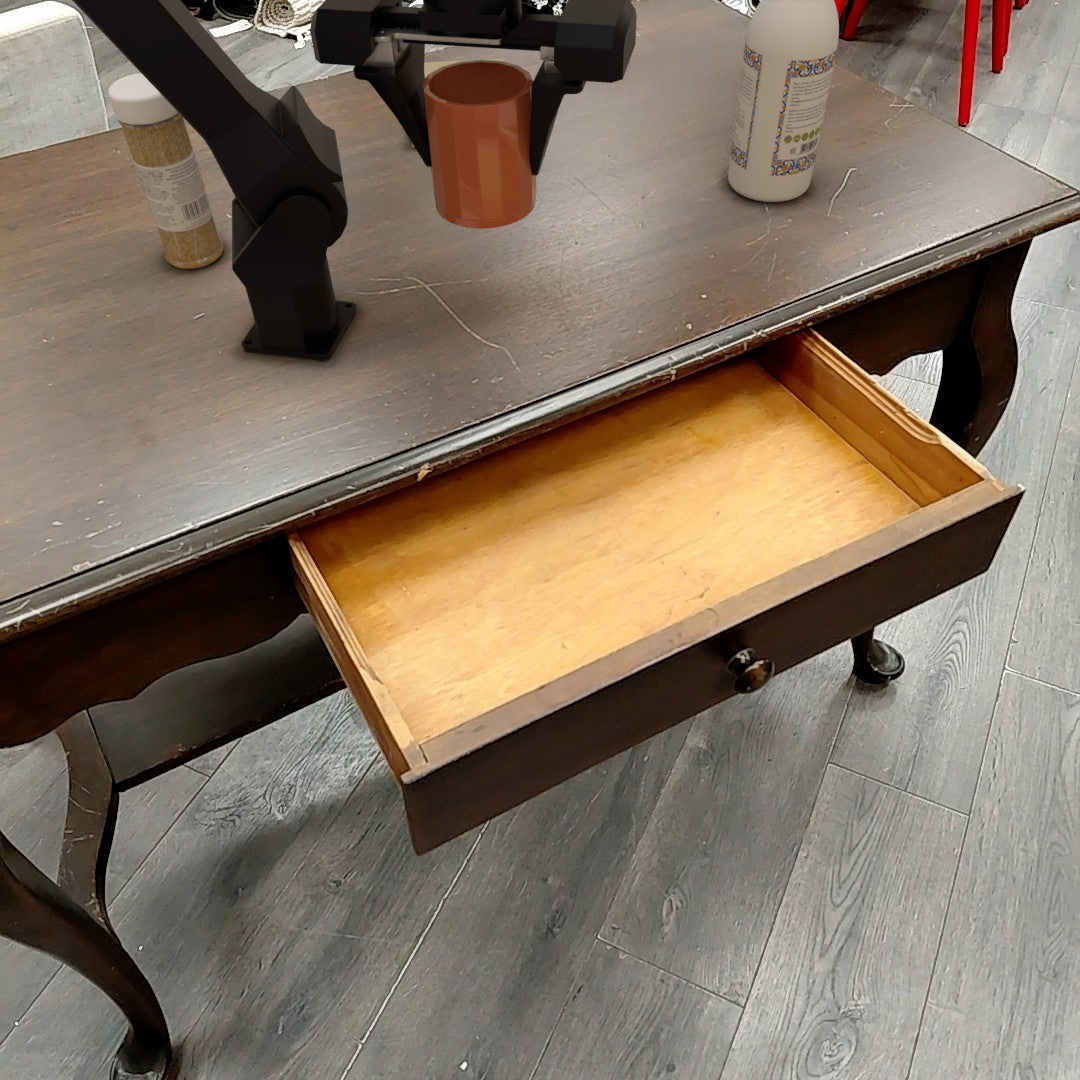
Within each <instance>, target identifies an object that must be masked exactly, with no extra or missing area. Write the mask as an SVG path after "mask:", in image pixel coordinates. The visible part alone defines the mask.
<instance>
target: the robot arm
mask: <svg viewBox="0 0 1080 1080" xmlns="http://www.w3.org/2000/svg"><path fill="white" fill-rule="evenodd" d="M71 1H72V2H73V3H74V4H75V5H76V6H77V7H78V8H79V9H80V10H81V11H82V13H83V14H84V15H85V16H87V18H88V19H89V20H90V21H91V22H92V23H93V24H94V25H95V26H96V27H97V28H98V30H99V31H101V32H102V33H103V35H104V36H105V37H106V38H107V39H108V40H109V41H110V42H111V43H112V44H113V45H114V46H115V47H116V48H117V49H118V51H119V52H121V54H122V55H123V56H124V57H125V58H126V59H127V60H128V61H129V63H131V64H132V66H134V67H135V68H136V69H137V71H138V72H139V73H142V75H143V76H144V77H145V78H146V79H147V80H148V81H149V82H150V83H151V84H152V85H153V86H154V87H155V88H156V89H157V90H158V91H159V92H160V94H161V95H162V96H163V97H164V98H165V99H166V100H167V101H168V102H169V103H170V104H171V105H172V106H173V107H174V108H175V109H176V110H177V111H178V113H179V114H180V115H181V116H182V117H183V120H184V121H186V122H187V123H188V125H190V127H191V128H193V130H194V131H195V132H196V133H197V134H198V135H199V136H200V138H202V139H203V141H204V143H206V145H207V146H208V148H209V149H210V152H211V153H212V156H213V158H214V159H215V161H216V163H217V164H218V167H219V168H220V171H221V172H222V174H223V176H224V178H225V180H226V183H228V185H229V188H230V189H231V191H232V193H233V195H234V198H233V199H232V200H231V270H232V271H233V273H234V274H235V275H236V277H237V278H238V280H239V281H240V282H241V284H242V285H243V286H244V288H245V292H246V295H247V299H248V301H249V305H250V310H251V312H252V317H253V320H254V323H253V325H252V326H251V327H250V330H249V331H248V332H247V334H246V335H245V337H244V338H243V340H242V341H241V346H242V350H243V351H244V352H247V353H256V354H264V355H273V356H282V357H291V358H298V359H299V358H300V359H308V360H317V361H326V360H328V359H330V358H331V356H332V354H333V353H334V352H335V349H336V348H337V346H338V344H339V342H340V340H341V339H342V337H343V335H344V333H346V330H347V328H348V326H349V324H351V321H352V319H353V318H354V315H356V312H357V306H356V303H354V302H353V301H345V300H337V299H336V294H335V290H334V285H333V281H332V275H331V271H330V266H329V261H328V255H327V253H328V252H327V251H328V248H330V247H332V246H333V245H334V244H335V243H337V241H338V240H339V239H340V238H341V237H342V235H343V233H344V232H345V230H346V227H347V225H348V218H349V217H348V216H349V207H348V201H347V195H346V190H345V189H346V188H345V183H344V177H343V176H344V175H343V171H342V164H341V158H340V153H339V147H338V141H337V134H336V131H335V130H334V129H333V128H332V127H330V126H328V125H327V124H324V123H323V122H322V121H321V119H319V118H318V117H317V116H316V115H315V114H314V112H313V111H312V109H311V108H310V107H309V105H308V103H307V101H306V100H305V97H304V96H303V95H302V93H301V92H300V90H299V89H298V87H297V86H296V85H291V86H290V87H289V88H288V90H286V92H285V93H284V94H283V95H282V96H281V97H280V99H279V98H277V97H275V95H272V94H270V93H269V92H267V91H265V90H264V89H262V88H261V87H259V86H257V85H256V84H255V83H254V82H252V81H251V80H250V79H249V78H248V77H247V76H246V75H245V74H244V73H243V72H242V70H241V69H240V68H239V67H238V65H236V64H235V62H234V61H233V60H232V59H231V57H229V55H228V54H227V53H226V52H225V51H224V50H223V48H222V47H221V46H220V45H219V44H218V42H217V41H216V40H215V38H213V36H212V35H211V34H210V33H209V32H208V31H207V30H206V28H205V27H204V26H203V25H202V24H201V23H200V22H199V20H197V18H196V17H195V16H194V14H193V13H192V12H191V11H190V10H189V9H188V7H187V6H186V5H185V4H184V3H183V2H182V0H71ZM422 2H423V3H422V5H421V6H420V7H417V6H403V0H324V1H323V2H322V4H320V5H319V7H317V8H316V10H315V11H314V13H313V14H312V15H311V19H310V20H311V21H310V28H309V32H310V38H311V43H312V48H313V54H314V59H315V60H316V61H317V62H318V63H319V64H322V65H336V66H337V65H338V66H352V67H353V68H352V71H353V75H354V78H355V79H356V80H359V81H367V82H368V83H369V84H370V85H371V87H372V88H373V89H374V90H375V92H376V93H377V94H378V96H379V97H380V98H381V101H383V102H384V103H385V105H386V106H387V107H388V109H389V111H391V113H392V114H393V115H394V116H395V118H396V120H397V121H398V123H399V125H400V126H401V128H402V129H403V131H404V132H405V134H406V136H407V137H408V139H409V140H410V142H412V143H411V145H412V144H413V145H414V147H415V148H414V149H415V151H416V152H417V154H418V155H419V157H420V158H421V160H422V161H423V163H424V165H425V166H426V167H429V168H431V163H430V154H429V145H428V136H427V127H426V118H425V109H424V100H423V91H422V83H423V81H424V80H425V74H424V62H425V55H426V54H425V53H426V45H433V46H434V45H435V46H448V47H449V46H451V47H464V48H480V49H481V48H482V49H498V50H513V51H514V50H515V51H529V52H530V51H531V52H539V55H540V57H539V58H540V60H541V61H542V62H541V65H540V67H539V69H538V71H537V73H536V74H535V76H534V78H533V82H532V92H531V124H530V165H531V172H532V175H535V176H536V177H537V176H539V174H540V171H541V169H542V166H543V162H544V160H545V157H546V152H547V149H548V146H549V142H550V140H551V137H552V132H553V129H554V125H555V123H556V119H557V116H558V113H559V109H560V108H561V107H560V106H561V104H562V102H563V99H564V97H565V95H577V94H580V93H582V92H583V90H584V89H585V86H586V83H587V82H591V83H593V82H594V83H605V84H607V83H608V84H613V83H615V82H619V81H622V80H624V77H625V74H626V71H627V69H628V66H629V63H630V60H631V57H632V55H633V52H634V50H635V47H636V41H637V39H636V37H637V19H638V18H637V17H638V16H637V10H636V8H635V5H633V3H632V2H631V1H630V0H568V1H567V2H566V4H565V6H564V7H563V10H562V11H561V13H560V14H544V13H528V12H526V13H525V12H523V11H522V10H523V8H522V6H523V5H522V4H525V5H526V4H527V5H528V4H530V2H531V0H422Z"/></svg>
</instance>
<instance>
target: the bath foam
mask: <svg viewBox="0 0 1080 1080" xmlns="http://www.w3.org/2000/svg"><path fill="white" fill-rule="evenodd" d="M839 37H840V22H839V13H838V9H837V6H836V2H835V0H760V1H759V3H758V4H757V7H756V8H755V10H754V12H753V14H752V17H751V19H750V22H749V25H748V29H747V32H746V37H745V42H744V48H743V49H744V50H743V57H742V64H741V72H740V81H739V86H738V87H739V88H738V93H737V94H738V96H737V103H736V110H735V118H734V125H733V134H732V141H731V148H730V157H729V165H728V173H727V179H728V184H729V186H730V187H731V188H732V189H733V190H734V192H736V193H738V194H739V195H741V196H742V197H745V198H748V199H750V200H754V201H759V202H764V203H765V202H766V203H781V202H787V201H790V200H794V199H797V198H798V197H800V196H802V195H803V194H804V193H806V192H807V190H808V189H809V187H810V185H811V182H812V176H813V172H814V166H815V161H816V158H817V152H818V147H819V142H820V137H821V132H822V127H823V122H824V118H825V113H826V108H827V102H828V97H829V92H830V88H831V83H832V77H833V72H834V67H835V62H836V57H837V52H838V48H839V39H840V38H839Z"/></svg>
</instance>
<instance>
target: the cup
mask: <svg viewBox="0 0 1080 1080" xmlns="http://www.w3.org/2000/svg"><path fill="white" fill-rule="evenodd" d="M472 60H473V61H465V60H462V61H463V62H457V63H454V64H450V65H447V66H443V67H440V68H439V69H437V70H435V71H433V72H432V73H430V74H428V75H427V77H426V78H425V80H424V81H423V83H422V91H423V100H424V109H425V118H426V127H427V136H428V145H429V154H430V163H431V167H430V171H431V179H432V189H433V196H434V201H435V203H434V204H435V209H436V211H437V213H438V214H439V216H440V217H441V218H442V219H443V220H445V221H447V222H449V223H450V224H453V225H455V226H459V227H462V228H467V229H479V230H480V229H482V230H483V229H484V230H486V229H496V228H502V227H506V226H509V225H512V224H515V223H517V222H519V221H522V220H524V219H525V218H526V217H528V216H529V215H530V214H531V213H532V212H533V210H534V209H535V207H536V204H537V203H536V202H537V176H535V175H532V172H531V165H530V124H531V92H532V82H533V80H534V78H532V75H531V73H530V72H529V71H527V70H526V69H524V68H523V67H521V66H520V65H518V64H514V63H510V62H506V61H505V62H503V61H492V60H487V59H472Z"/></svg>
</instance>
